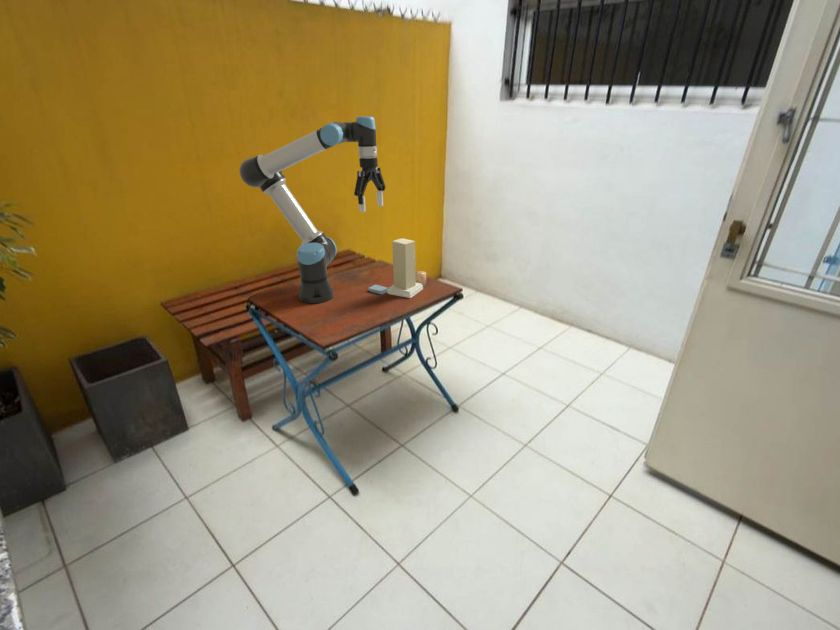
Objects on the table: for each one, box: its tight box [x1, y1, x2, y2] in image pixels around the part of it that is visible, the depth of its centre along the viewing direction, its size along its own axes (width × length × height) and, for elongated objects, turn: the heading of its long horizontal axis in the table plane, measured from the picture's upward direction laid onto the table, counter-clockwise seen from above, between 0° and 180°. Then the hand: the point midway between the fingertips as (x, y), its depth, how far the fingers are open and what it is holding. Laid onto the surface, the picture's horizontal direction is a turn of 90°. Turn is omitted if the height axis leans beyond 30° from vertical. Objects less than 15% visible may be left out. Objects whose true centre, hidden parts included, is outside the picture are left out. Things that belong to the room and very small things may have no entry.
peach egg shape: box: [415, 270, 427, 287], centre depth 204 cm, size 5×5×6 cm
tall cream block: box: [391, 237, 416, 289], centre depth 193 cm, size 8×7×21 cm
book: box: [367, 284, 389, 295], centre depth 199 cm, size 8×5×2 cm, turn 55°
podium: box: [386, 283, 424, 299], centre depth 198 cm, size 12×12×3 cm
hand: (371, 208), depth 188 cm, fingers open, 13 cm apart
